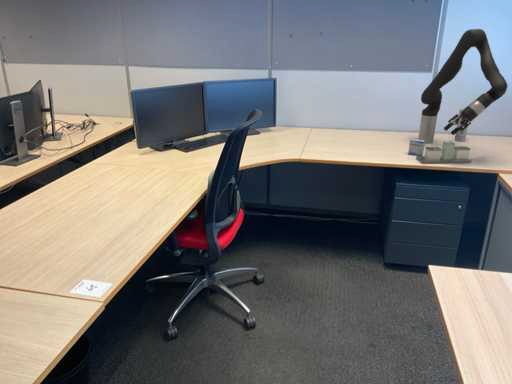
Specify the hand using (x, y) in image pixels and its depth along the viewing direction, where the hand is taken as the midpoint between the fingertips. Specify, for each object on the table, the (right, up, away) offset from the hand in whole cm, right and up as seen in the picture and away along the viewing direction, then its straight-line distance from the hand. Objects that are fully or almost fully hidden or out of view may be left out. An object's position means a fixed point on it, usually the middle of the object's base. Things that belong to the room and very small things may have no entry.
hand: (448, 131), depth 232 cm
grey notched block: (0, -15, +6) cm, 17 cm away
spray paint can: (+28, +1, +45) cm, 53 cm away
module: (+2, -14, +6) cm, 15 cm away
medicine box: (-11, -11, +18) cm, 24 cm away
